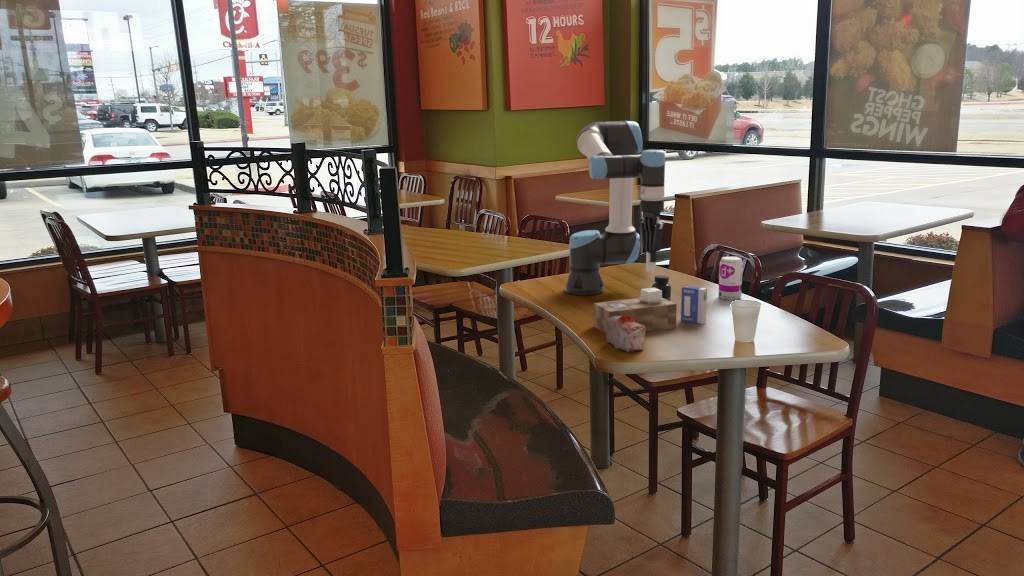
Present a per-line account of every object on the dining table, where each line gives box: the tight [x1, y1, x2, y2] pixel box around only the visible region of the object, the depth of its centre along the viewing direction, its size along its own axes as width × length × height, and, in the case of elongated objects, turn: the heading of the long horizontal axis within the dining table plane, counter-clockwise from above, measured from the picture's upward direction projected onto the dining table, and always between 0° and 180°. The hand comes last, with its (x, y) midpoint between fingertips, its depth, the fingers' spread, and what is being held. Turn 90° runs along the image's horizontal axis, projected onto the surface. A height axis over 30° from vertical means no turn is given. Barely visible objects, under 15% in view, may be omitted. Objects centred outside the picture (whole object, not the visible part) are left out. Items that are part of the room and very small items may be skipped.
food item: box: [605, 315, 646, 353], centre depth 248 cm, size 14×8×10 cm, turn 27°
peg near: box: [608, 303, 629, 308], centre depth 267 cm, size 5×5×7 cm
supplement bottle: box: [651, 274, 672, 302], centre depth 289 cm, size 7×7×12 cm
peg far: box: [640, 287, 662, 304], centre depth 270 cm, size 5×5×7 cm
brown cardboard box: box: [593, 297, 678, 335], centre depth 269 cm, size 12×24×8 cm, turn 110°
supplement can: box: [717, 255, 744, 301], centre depth 303 cm, size 8×8×15 cm
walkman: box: [680, 285, 708, 325], centre depth 273 cm, size 8×3×12 cm, turn 56°
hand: (650, 271), depth 267 cm, fingers closed
